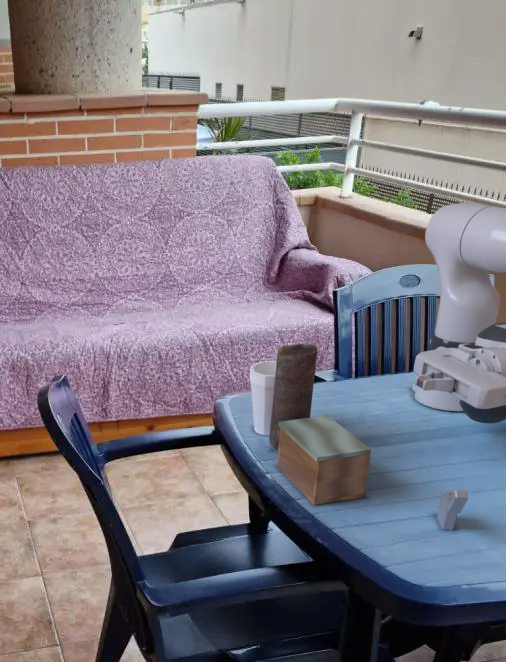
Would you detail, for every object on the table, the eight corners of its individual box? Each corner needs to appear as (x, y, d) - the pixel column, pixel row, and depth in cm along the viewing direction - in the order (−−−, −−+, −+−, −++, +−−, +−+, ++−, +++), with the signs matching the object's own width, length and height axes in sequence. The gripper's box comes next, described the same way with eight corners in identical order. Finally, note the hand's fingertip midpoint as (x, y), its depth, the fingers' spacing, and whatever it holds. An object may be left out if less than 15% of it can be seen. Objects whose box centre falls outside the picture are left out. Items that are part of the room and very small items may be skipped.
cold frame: (314, 505, 126) (319, 461, 122) (276, 466, 139) (280, 425, 135) (363, 497, 127) (370, 454, 123) (322, 459, 141) (327, 419, 136)
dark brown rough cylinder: (307, 456, 142) (318, 354, 131) (268, 454, 143) (276, 353, 133) (306, 440, 148) (316, 341, 138) (268, 438, 150) (276, 340, 139)
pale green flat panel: (316, 461, 122) (317, 457, 121) (278, 426, 135) (278, 421, 134) (370, 453, 123) (371, 449, 123) (327, 419, 136) (327, 414, 136)
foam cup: (295, 422, 156) (301, 362, 149) (290, 440, 148) (296, 378, 142) (250, 418, 159) (253, 359, 152) (242, 436, 151) (246, 374, 144)
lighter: (436, 516, 121) (446, 472, 117) (447, 516, 121) (458, 472, 116) (446, 539, 115) (456, 493, 111) (458, 539, 115) (469, 494, 111)
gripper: (528, 412, 123) (452, 422, 121) (454, 373, 140) (386, 381, 138) (538, 376, 119) (460, 385, 117) (461, 340, 136) (391, 348, 134)
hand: (419, 383), depth 128 cm, fingers closed
